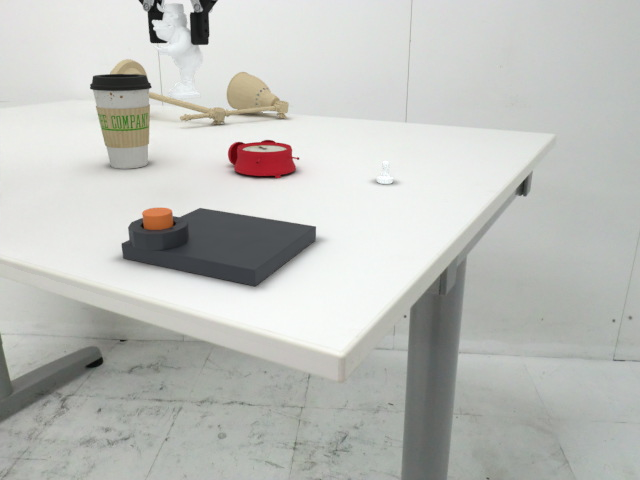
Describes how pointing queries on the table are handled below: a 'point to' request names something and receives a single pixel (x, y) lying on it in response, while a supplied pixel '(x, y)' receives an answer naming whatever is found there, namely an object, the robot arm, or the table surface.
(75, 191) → the table surface
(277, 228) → the scale
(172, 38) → the figurine
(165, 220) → the button
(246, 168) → the alarm clock
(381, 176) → the chess pawn
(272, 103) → the desk lamp
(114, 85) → the coffee cup
